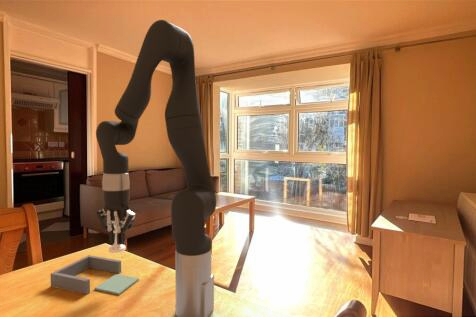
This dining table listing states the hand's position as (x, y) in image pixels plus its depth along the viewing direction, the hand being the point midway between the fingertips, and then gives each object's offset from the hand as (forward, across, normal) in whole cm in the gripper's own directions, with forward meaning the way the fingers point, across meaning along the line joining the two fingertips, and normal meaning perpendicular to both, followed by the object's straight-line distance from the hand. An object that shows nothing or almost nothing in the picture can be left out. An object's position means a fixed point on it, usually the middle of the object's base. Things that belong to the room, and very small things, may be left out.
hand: (117, 242), depth 84 cm
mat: (+13, 0, 0) cm, 13 cm away
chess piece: (+2, 0, 0) cm, 2 cm away
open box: (+13, +11, 0) cm, 17 cm away
